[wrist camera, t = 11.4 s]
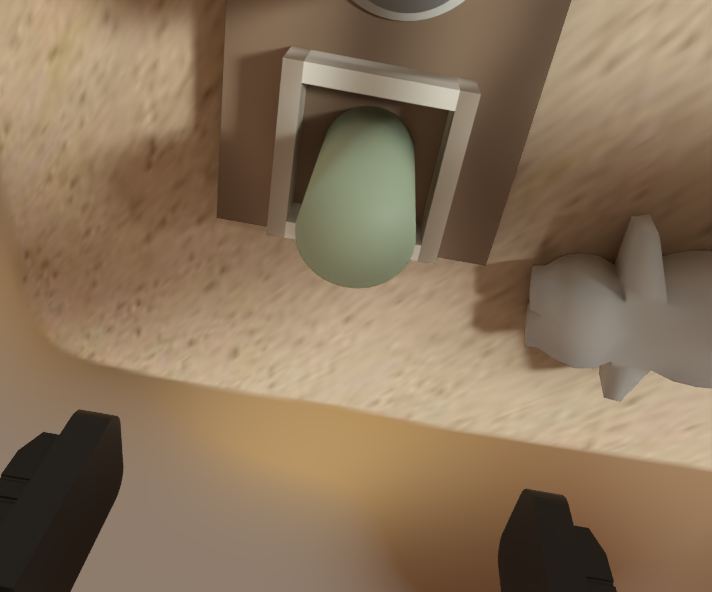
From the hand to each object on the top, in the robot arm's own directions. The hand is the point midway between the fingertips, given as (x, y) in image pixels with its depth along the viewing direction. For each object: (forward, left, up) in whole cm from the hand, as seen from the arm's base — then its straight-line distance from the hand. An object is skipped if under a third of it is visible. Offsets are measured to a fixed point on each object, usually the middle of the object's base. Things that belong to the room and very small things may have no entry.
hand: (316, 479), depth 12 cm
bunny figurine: (-16, +5, -20) cm, 26 cm away
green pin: (0, 0, -18) cm, 18 cm away
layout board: (0, -5, -20) cm, 20 cm away
